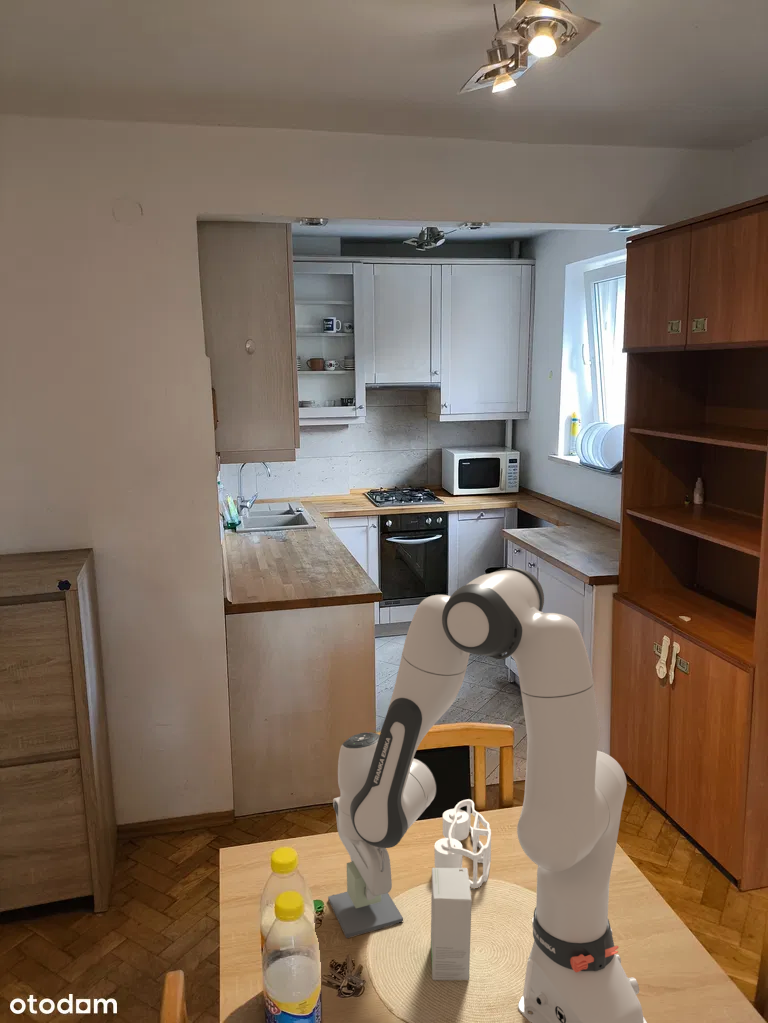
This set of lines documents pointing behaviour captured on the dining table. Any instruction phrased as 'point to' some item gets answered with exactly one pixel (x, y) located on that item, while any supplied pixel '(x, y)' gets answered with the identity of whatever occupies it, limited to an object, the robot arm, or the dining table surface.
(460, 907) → the skincare box
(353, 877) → the sage block
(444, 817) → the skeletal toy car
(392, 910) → the slate mat
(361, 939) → the dining table surface
